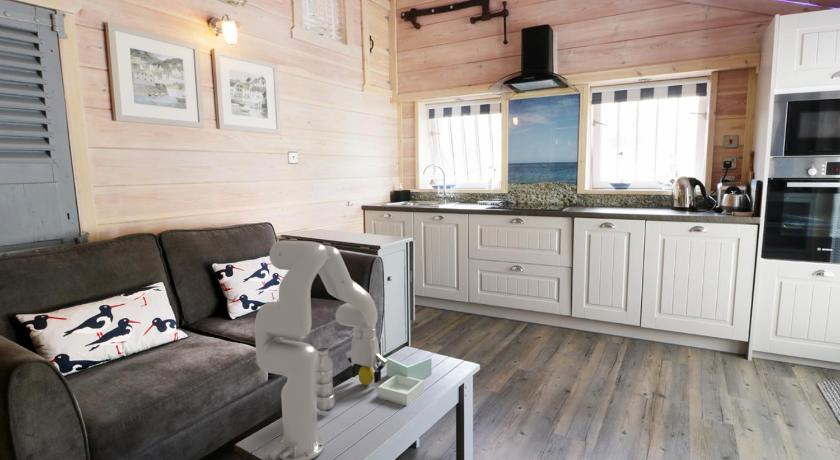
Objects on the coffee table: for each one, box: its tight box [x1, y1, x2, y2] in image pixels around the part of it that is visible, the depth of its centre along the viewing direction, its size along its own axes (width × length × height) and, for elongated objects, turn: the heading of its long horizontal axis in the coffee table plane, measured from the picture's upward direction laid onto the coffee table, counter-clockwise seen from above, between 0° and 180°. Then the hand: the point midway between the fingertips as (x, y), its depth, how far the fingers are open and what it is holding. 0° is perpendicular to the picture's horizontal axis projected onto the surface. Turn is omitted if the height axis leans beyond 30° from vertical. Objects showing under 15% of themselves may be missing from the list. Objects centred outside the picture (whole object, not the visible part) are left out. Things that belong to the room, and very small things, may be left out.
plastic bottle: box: [316, 347, 336, 411], centre depth 147 cm, size 6×7×20 cm
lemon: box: [358, 365, 375, 386], centre depth 164 cm, size 6×6×8 cm
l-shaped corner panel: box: [385, 357, 432, 380], centre depth 170 cm, size 12×12×8 cm
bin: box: [377, 374, 425, 407], centre depth 157 cm, size 12×12×4 cm
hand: (366, 378), depth 164 cm, fingers open, 9 cm apart
